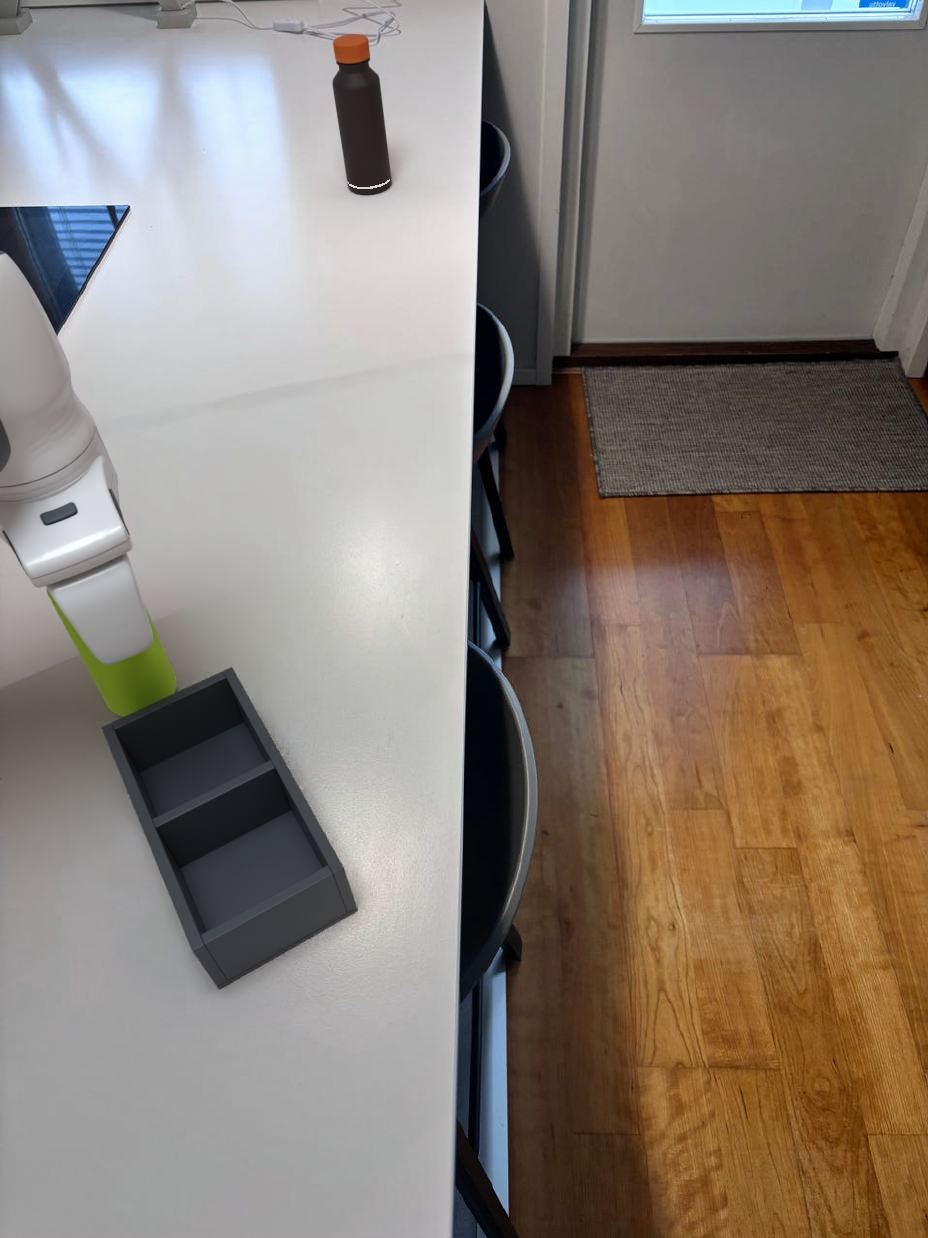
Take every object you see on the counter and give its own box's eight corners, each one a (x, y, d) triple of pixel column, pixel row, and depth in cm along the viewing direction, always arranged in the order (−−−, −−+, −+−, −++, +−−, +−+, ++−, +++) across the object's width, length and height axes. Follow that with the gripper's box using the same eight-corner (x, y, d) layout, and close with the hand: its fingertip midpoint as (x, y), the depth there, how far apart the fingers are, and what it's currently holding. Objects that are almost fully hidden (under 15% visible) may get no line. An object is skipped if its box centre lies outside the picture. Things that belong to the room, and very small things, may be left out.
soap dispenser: (149, 734, 76) (58, 550, 61) (90, 699, 79) (-11, 516, 64) (200, 684, 79) (124, 499, 65) (141, 653, 82) (56, 468, 67)
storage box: (218, 990, 64) (192, 951, 59) (129, 773, 76) (100, 727, 72) (358, 910, 67) (344, 868, 63) (250, 714, 80) (231, 666, 75)
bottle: (344, 180, 147) (322, 35, 132) (387, 172, 148) (370, 28, 133) (351, 198, 143) (329, 51, 128) (395, 191, 144) (378, 43, 129)
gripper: (-36, 416, 68) (40, 554, 78) (31, 588, 56) (111, 725, 66) (51, 386, 70) (114, 524, 80) (135, 546, 58) (197, 685, 68)
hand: (114, 616), depth 73 cm, fingers closed on soap dispenser, 6 cm apart
